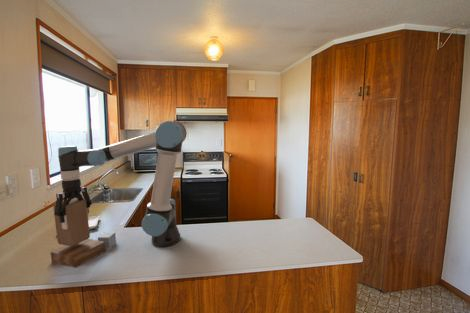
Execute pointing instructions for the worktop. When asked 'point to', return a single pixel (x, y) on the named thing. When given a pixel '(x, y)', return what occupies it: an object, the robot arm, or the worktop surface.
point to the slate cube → (108, 239)
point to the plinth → (78, 253)
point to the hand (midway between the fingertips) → (76, 224)
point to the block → (73, 223)
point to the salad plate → (92, 222)
